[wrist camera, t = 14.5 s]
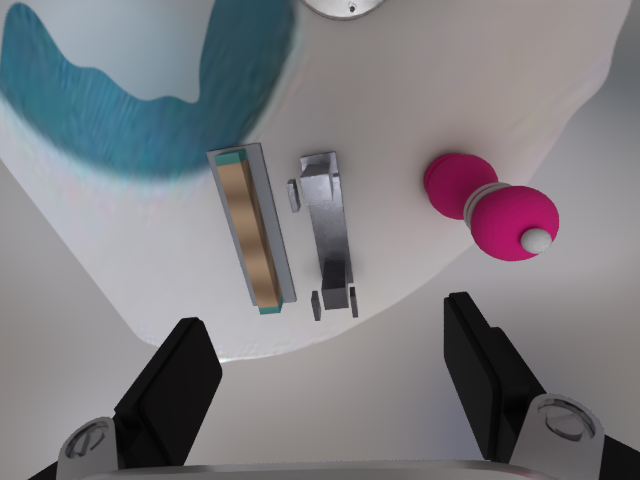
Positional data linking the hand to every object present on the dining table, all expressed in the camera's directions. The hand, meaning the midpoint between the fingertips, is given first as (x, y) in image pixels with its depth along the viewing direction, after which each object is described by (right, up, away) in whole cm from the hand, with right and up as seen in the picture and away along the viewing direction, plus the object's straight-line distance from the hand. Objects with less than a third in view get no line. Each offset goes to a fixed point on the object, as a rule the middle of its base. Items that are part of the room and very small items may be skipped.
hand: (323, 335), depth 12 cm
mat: (-9, +5, +32) cm, 34 cm away
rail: (-9, +4, +31) cm, 33 cm away
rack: (+1, +6, +31) cm, 31 cm away
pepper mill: (+16, +12, +27) cm, 34 cm away
